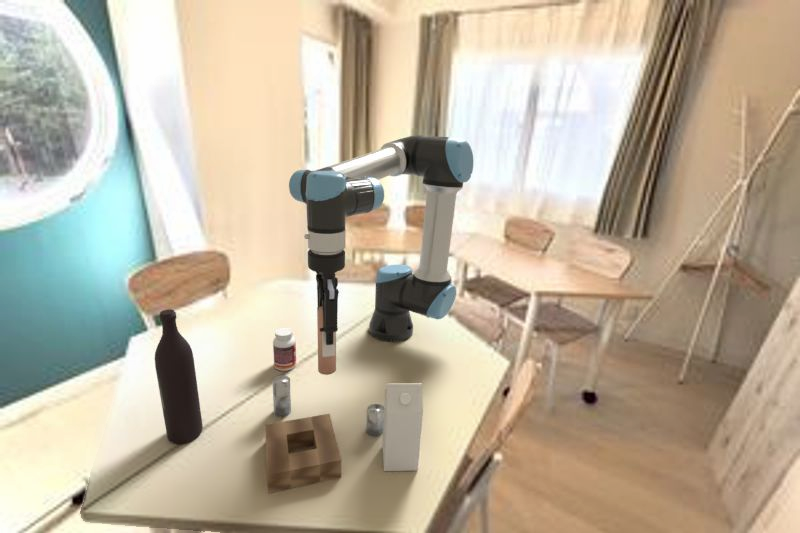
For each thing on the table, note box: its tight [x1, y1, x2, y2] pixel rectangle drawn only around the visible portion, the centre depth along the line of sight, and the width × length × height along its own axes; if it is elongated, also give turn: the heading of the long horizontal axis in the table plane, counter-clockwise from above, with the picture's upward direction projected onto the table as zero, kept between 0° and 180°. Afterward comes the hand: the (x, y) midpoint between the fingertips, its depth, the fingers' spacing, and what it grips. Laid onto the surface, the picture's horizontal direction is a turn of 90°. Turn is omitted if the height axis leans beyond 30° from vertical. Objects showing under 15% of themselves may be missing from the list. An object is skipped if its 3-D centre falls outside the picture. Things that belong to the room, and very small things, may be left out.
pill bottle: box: [272, 327, 297, 372], centre depth 117 cm, size 6×6×11 cm
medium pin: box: [272, 374, 292, 418], centre depth 99 cm, size 4×4×9 cm
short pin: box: [365, 403, 384, 438], centre depth 95 cm, size 4×4×6 cm
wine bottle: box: [154, 308, 204, 445], centre depth 87 cm, size 7×7×30 cm
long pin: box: [316, 306, 337, 376], centre depth 90 cm, size 4×4×15 cm
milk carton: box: [381, 382, 424, 472], centre depth 85 cm, size 7×7×19 cm
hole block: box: [264, 413, 342, 494], centre depth 86 cm, size 14×14×4 cm
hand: (327, 349), depth 91 cm, fingers closed on long pin, 4 cm apart
